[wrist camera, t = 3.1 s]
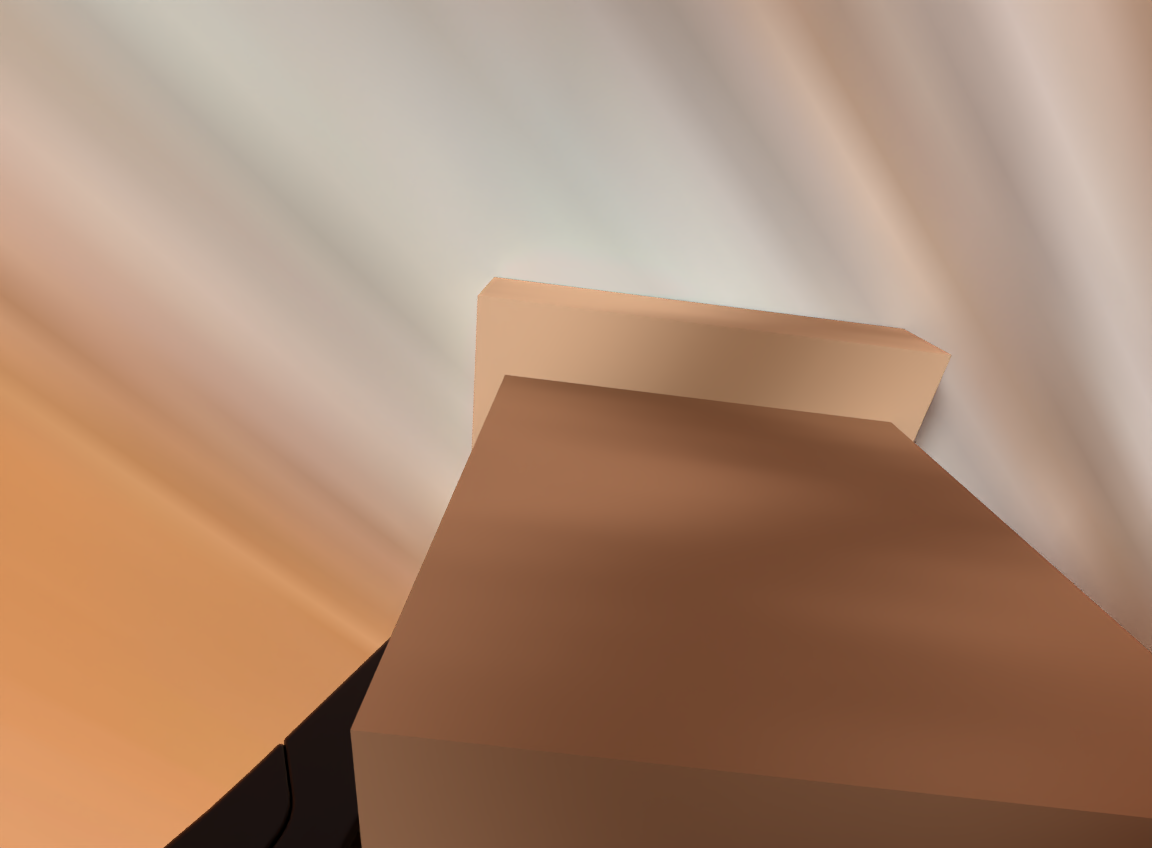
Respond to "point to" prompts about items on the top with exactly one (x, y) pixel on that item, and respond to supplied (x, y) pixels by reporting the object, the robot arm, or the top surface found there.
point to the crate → (735, 610)
